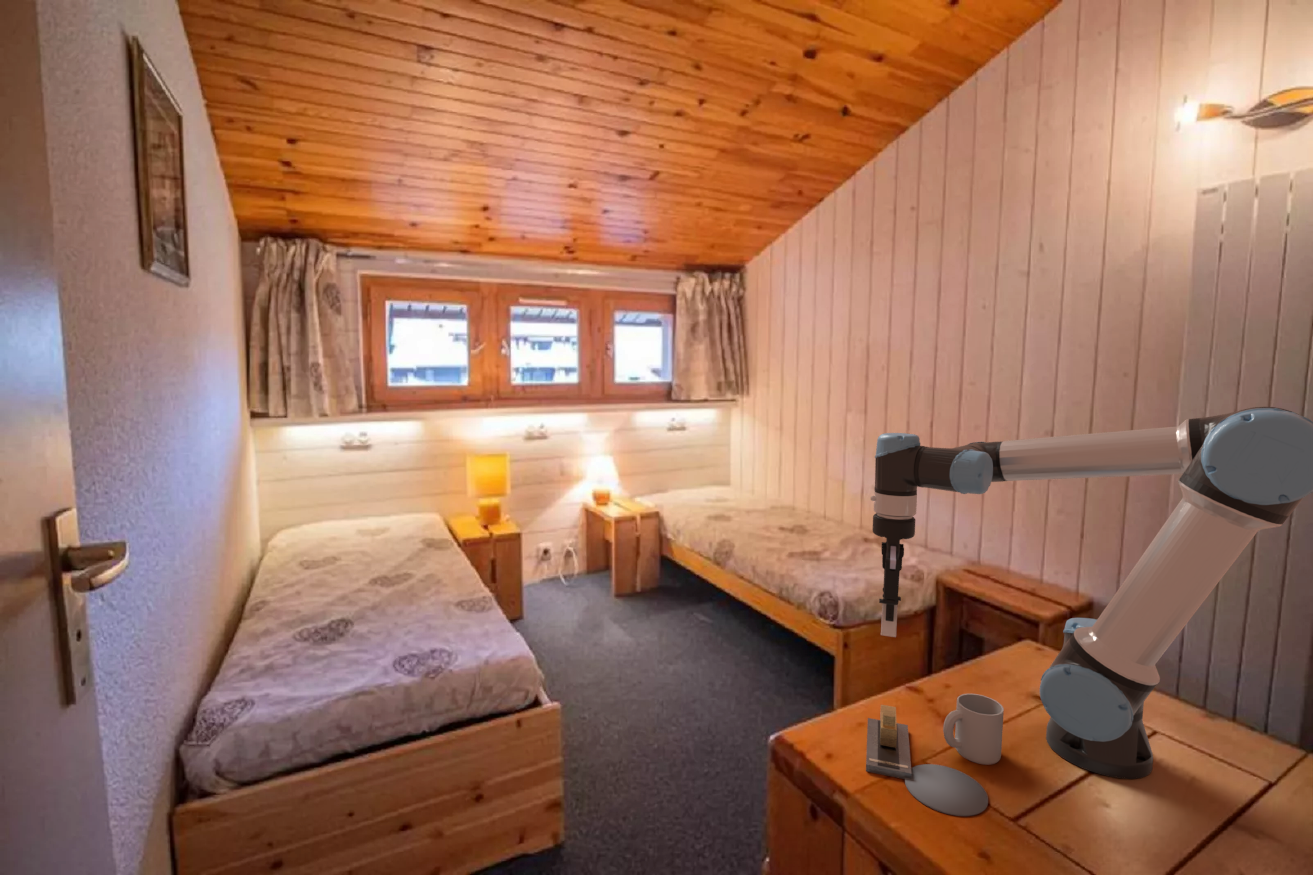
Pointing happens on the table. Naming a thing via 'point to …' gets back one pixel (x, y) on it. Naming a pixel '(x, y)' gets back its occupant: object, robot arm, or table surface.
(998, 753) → the cup
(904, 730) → the lock plate
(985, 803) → the coaster
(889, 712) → the brass stepped block
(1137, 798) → the table surface
